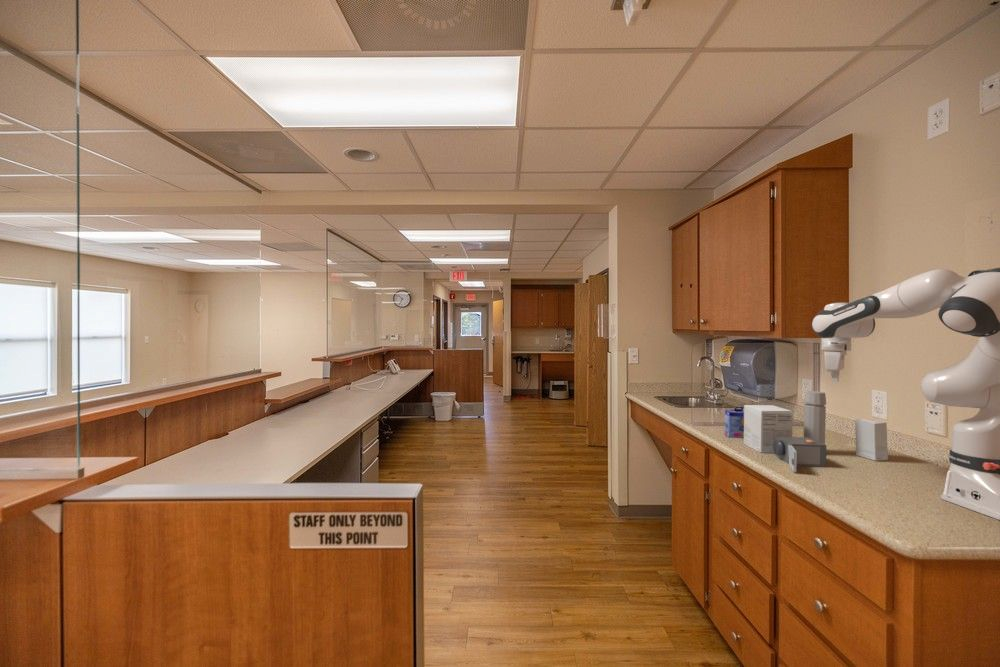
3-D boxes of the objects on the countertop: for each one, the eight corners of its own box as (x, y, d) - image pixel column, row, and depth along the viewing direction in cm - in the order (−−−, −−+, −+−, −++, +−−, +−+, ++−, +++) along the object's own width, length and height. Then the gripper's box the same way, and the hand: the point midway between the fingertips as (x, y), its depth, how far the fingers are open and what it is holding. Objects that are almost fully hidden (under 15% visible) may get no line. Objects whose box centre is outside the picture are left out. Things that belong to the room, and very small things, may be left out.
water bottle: (829, 455, 171) (831, 393, 171) (807, 454, 173) (809, 393, 172) (817, 448, 180) (818, 390, 180) (796, 447, 182) (798, 389, 181)
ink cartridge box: (728, 437, 197) (729, 406, 197) (723, 434, 203) (724, 404, 203) (751, 438, 197) (751, 407, 196) (745, 435, 202) (745, 405, 202)
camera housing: (826, 466, 157) (826, 443, 157) (787, 465, 159) (787, 441, 159) (807, 457, 168) (808, 435, 168) (771, 456, 170) (771, 434, 170)
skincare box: (888, 460, 165) (889, 422, 165) (874, 461, 164) (875, 423, 164) (866, 454, 173) (867, 418, 173) (853, 454, 172) (854, 418, 172)
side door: (791, 471, 150) (792, 451, 150) (786, 463, 160) (787, 444, 160) (796, 472, 150) (796, 452, 150) (790, 463, 160) (791, 444, 159)
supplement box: (793, 453, 174) (793, 411, 173) (760, 453, 174) (761, 410, 174) (772, 444, 187) (773, 404, 187) (742, 444, 187) (743, 404, 187)
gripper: (829, 344, 170) (828, 378, 170) (821, 346, 155) (820, 383, 155) (849, 345, 165) (848, 380, 166) (843, 346, 151) (842, 385, 151)
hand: (835, 382), depth 160 cm, fingers closed
